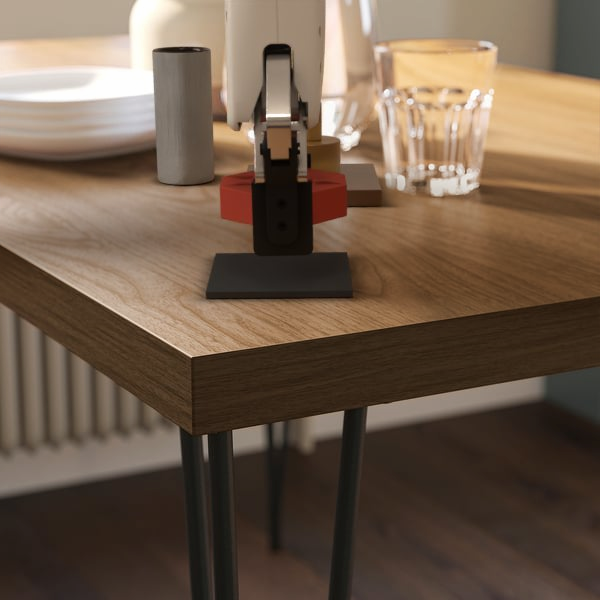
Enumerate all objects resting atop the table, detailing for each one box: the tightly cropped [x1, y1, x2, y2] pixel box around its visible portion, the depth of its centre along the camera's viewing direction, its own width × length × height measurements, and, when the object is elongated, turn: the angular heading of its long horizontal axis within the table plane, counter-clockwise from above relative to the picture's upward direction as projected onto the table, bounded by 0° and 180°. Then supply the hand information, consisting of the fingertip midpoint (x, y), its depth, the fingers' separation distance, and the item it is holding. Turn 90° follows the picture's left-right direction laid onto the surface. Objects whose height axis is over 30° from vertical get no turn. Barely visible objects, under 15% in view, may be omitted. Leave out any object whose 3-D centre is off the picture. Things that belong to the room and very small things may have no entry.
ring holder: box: [246, 102, 383, 207], centre depth 89 cm, size 10×10×7 cm
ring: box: [219, 168, 348, 227], centre depth 66 cm, size 7×7×2 cm
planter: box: [151, 46, 215, 186], centre depth 93 cm, size 4×4×10 cm
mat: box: [205, 251, 354, 299], centre depth 68 cm, size 8×8×1 cm
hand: (284, 234), depth 67 cm, fingers closed on ring, 7 cm apart
